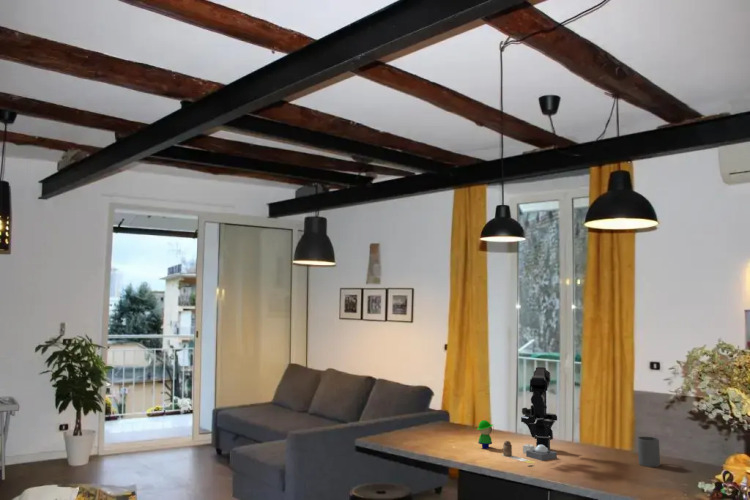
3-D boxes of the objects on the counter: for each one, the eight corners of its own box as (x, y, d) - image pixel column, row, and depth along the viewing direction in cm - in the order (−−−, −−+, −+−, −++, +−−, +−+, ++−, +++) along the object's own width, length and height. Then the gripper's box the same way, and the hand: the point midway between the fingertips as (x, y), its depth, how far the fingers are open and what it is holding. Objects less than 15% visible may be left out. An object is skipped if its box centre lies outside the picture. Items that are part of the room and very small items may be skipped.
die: (527, 452, 313) (527, 443, 313) (534, 453, 310) (534, 445, 310) (523, 453, 310) (523, 445, 310) (530, 454, 307) (530, 446, 307)
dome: (541, 454, 305) (541, 442, 305) (550, 456, 299) (550, 445, 300) (532, 455, 302) (532, 444, 302) (541, 458, 296) (541, 446, 297)
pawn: (507, 454, 307) (507, 439, 308) (513, 455, 303) (513, 441, 304) (501, 455, 305) (501, 440, 305) (507, 456, 301) (507, 441, 302)
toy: (493, 452, 317) (493, 422, 319) (476, 451, 319) (476, 421, 321) (494, 448, 326) (493, 419, 328) (477, 447, 328) (476, 418, 329)
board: (527, 452, 316) (527, 450, 316) (560, 461, 297) (560, 458, 297) (497, 457, 306) (497, 454, 306) (529, 466, 287) (529, 463, 287)
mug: (654, 468, 284) (652, 441, 286) (635, 464, 291) (633, 438, 293) (668, 463, 293) (667, 437, 294) (649, 460, 300) (648, 434, 301)
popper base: (541, 454, 307) (541, 448, 308) (556, 458, 299) (556, 452, 299) (526, 457, 302) (526, 450, 302) (541, 461, 294) (541, 454, 294)
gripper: (541, 400, 315) (541, 431, 313) (512, 402, 306) (513, 435, 304) (557, 402, 305) (558, 435, 304) (529, 405, 296) (529, 439, 294)
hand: (539, 436), depth 302 cm, fingers open, 8 cm apart
